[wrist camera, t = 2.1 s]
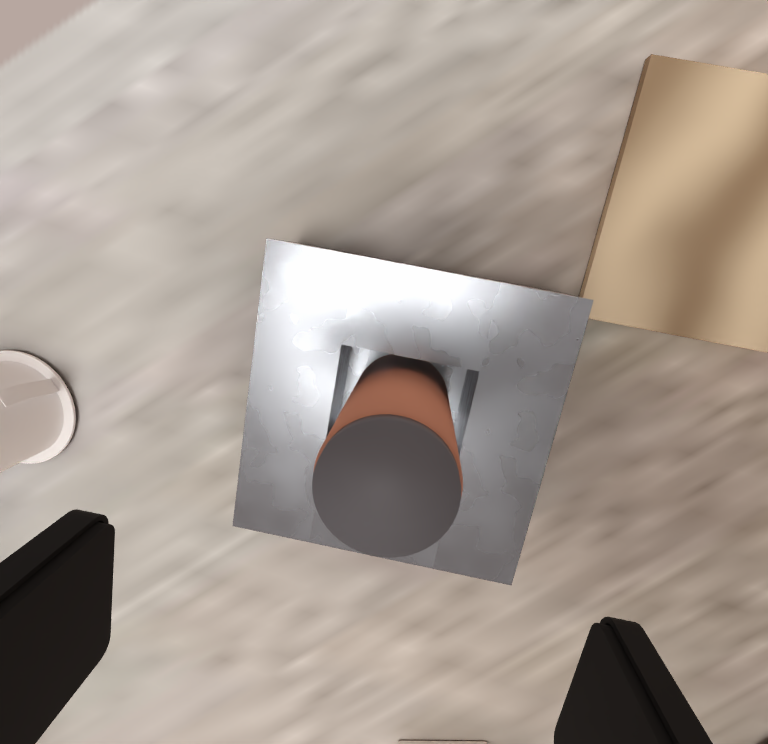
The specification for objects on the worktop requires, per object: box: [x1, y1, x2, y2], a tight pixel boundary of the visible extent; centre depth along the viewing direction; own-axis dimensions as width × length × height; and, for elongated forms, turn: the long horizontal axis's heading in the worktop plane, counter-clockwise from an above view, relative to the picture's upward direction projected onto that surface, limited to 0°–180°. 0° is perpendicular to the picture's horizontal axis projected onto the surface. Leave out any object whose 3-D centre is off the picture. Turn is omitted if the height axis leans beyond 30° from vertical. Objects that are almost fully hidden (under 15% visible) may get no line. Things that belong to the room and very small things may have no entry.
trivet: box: [579, 54, 768, 353], centre depth 23 cm, size 12×12×1 cm
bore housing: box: [233, 238, 594, 585], centre depth 24 cm, size 14×14×5 cm
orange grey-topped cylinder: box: [312, 354, 463, 558], centre depth 20 cm, size 5×5×11 cm
